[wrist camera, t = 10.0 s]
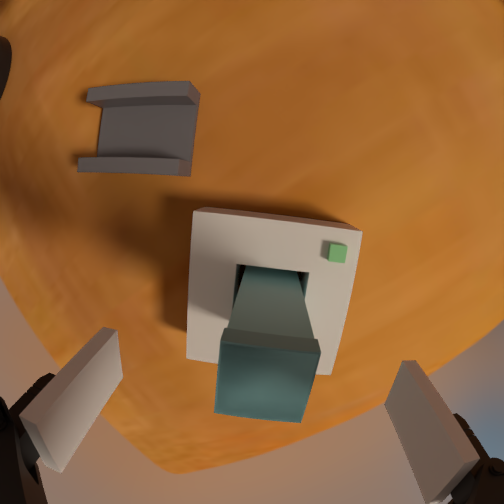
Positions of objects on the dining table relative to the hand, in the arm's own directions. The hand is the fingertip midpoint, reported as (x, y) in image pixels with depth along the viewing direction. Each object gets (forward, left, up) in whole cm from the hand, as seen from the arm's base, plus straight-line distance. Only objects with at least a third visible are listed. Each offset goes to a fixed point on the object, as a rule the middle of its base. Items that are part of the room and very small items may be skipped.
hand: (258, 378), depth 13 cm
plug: (0, 0, -14) cm, 14 cm away
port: (0, 0, -14) cm, 14 cm away
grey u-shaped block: (-12, +12, -14) cm, 22 cm away
